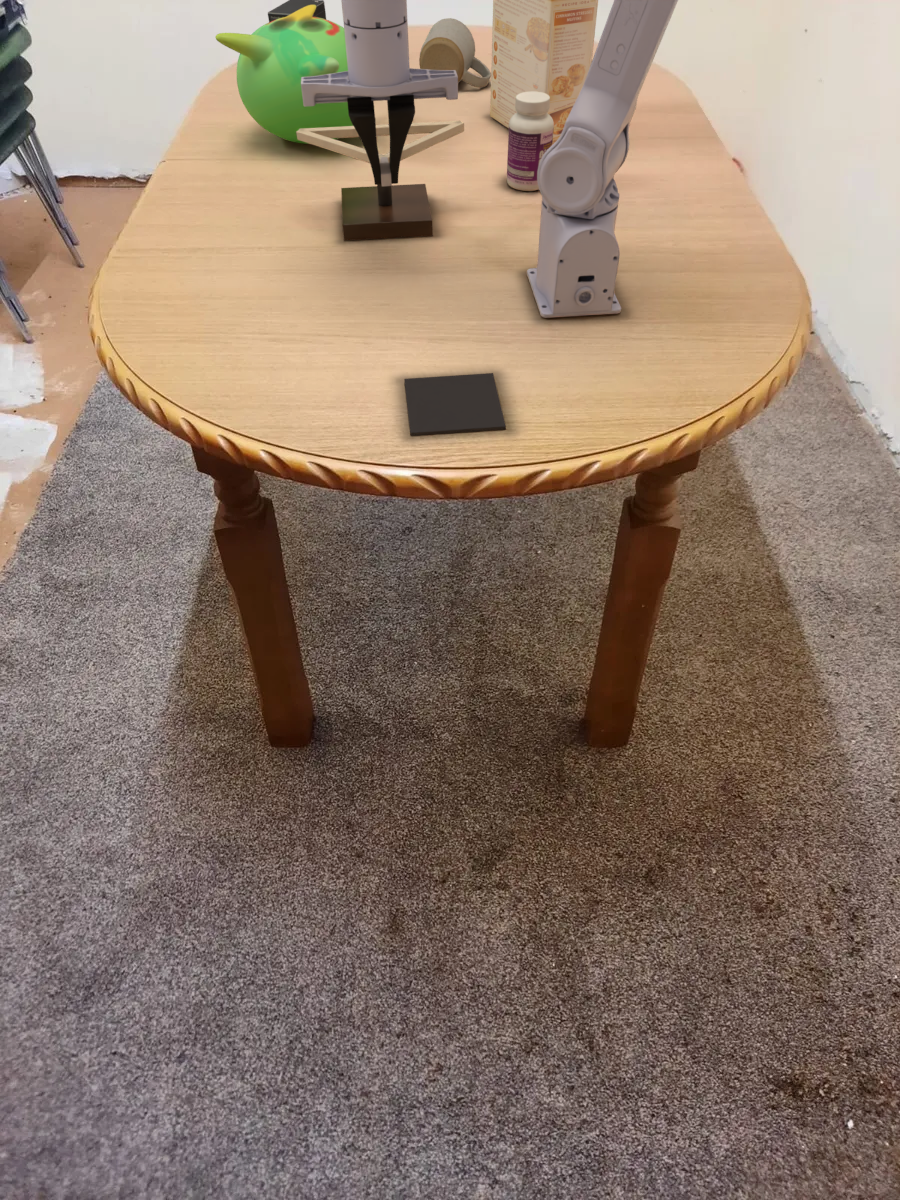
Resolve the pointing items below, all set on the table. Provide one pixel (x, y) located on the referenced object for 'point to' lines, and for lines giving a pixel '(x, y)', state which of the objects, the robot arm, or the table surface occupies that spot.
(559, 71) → the coffeecake box
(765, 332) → the table surface
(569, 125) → the robot arm
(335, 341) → the table surface
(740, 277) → the table surface
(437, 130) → the hanger
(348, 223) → the block
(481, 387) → the mat
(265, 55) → the toy bird
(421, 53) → the ceramic mug
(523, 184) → the pill bottle
